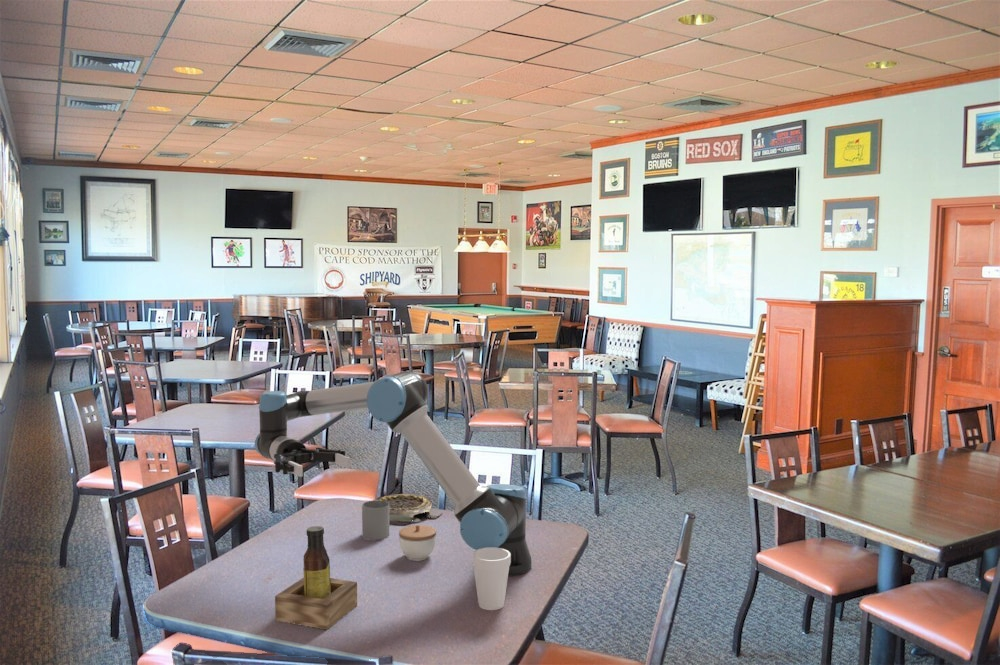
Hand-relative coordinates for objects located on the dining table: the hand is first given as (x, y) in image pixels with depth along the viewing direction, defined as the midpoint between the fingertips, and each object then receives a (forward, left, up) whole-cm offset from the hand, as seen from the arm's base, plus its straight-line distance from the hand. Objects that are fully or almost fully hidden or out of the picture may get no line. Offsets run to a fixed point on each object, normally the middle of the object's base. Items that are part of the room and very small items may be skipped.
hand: (325, 467), depth 201 cm
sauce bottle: (-6, +14, -31) cm, 35 cm away
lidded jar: (-13, -28, -32) cm, 44 cm away
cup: (+7, -40, -32) cm, 52 cm away
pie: (+10, -64, -33) cm, 72 cm away
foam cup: (-44, -5, -32) cm, 55 cm away
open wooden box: (-6, +14, -32) cm, 36 cm away
